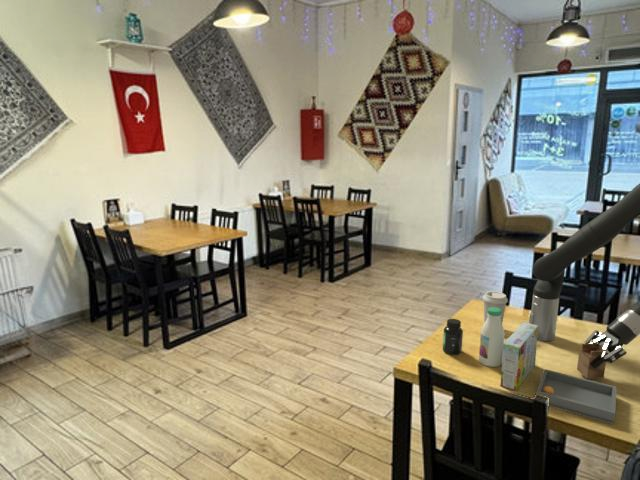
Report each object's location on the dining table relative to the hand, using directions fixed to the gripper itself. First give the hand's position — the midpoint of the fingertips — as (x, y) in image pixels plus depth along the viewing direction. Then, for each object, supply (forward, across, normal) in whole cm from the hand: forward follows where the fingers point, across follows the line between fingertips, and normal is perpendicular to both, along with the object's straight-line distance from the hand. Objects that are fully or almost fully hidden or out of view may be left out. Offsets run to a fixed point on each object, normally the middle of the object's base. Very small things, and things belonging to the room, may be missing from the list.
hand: (586, 361), depth 150 cm
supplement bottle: (+31, -20, -23) cm, 43 cm away
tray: (+11, +12, -3) cm, 17 cm away
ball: (+15, +12, -11) cm, 22 cm away
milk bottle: (+23, -12, -15) cm, 30 cm away
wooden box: (+2, 0, +4) cm, 5 cm away
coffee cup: (+15, -39, -7) cm, 42 cm away
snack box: (+19, -2, -11) cm, 22 cm away
